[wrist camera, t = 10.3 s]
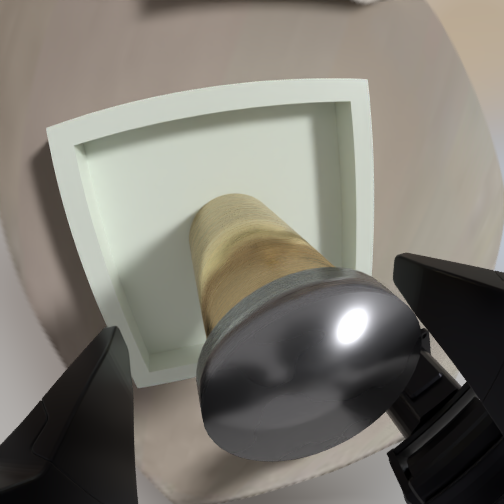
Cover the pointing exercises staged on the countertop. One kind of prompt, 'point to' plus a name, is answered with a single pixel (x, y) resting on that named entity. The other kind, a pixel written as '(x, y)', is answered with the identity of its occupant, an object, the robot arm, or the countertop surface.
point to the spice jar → (290, 337)
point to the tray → (208, 195)
